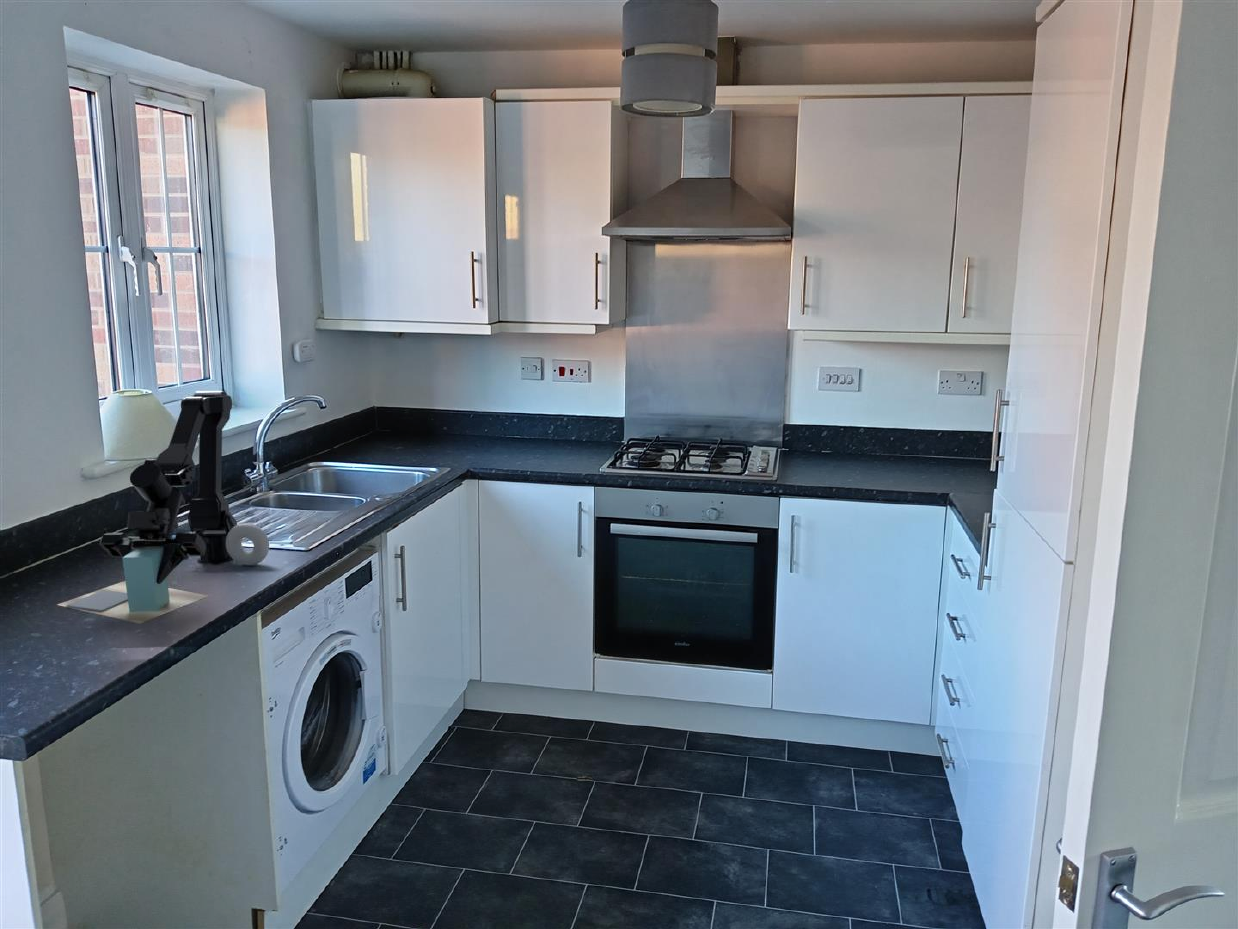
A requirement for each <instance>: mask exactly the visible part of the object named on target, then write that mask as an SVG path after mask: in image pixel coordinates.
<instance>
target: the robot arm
mask: <svg viewBox="0 0 1238 929" xmlns="http://www.w3.org/2000/svg"><path fill="white" fill-rule="evenodd" d="M232 409H233V400H232V397H231V396H230V395H229V394H228V393H227V391H225V390H196V391H195V393H194V394H193V395H189V396H185V397H184V398H182V399H181V402H180V413H179V416H178V419H177V422H176V425H175V427H174V430H173V433H172V436H171V437H170V438H171V439H170V442H169V444H168V446H167V448H166V449H164V450H163V451H162V452H160V453H159V454H158V455H157V457H156V459H155V458H154V459H145V460H144V463H143V464H141V465H138V466H137V467H136V468H134V469H133V471H132V472H131V473H130V474H129V482H130V483H131V485H132V486H133V487H134V489H135V490H137V492H138V493H139V495H140V496H141V497H142V498H143V499H144V500H145V501H147V502H148V503H149V504H148V507H147V509H146V510H143V511H128V514H127V515H128V516H127V524H126V529H128V530H129V529H132V530H133V534H134V535H135V536H138V537H139V538H134V539H133V538H130V537H128V536H127V535H126V534H125V533H124V532H106V533H104V534H103V535H102V536H101V538H100V541H99V544H98V545H99V546H100V547H101V548H102V549H103V551H105V553H107V554H108V555H109V556H110V557H112V558H123V557H124V556H126V555H127V554H129V553H130V552H132V551H134V550H135V549H163V558H162V561H161V564H160V568H159V571H158V575H157V581H156V582H157V583H158V584H161V583H162V581H163V580H164V579H165V578H166V577H167V578H168V576H169V575H170V574H171V573H172V572H173V570H174V569H176V568H177V567H178V565H180V564H181V563H182V562H183V561H185V560H188V559H189V557H199V558H197V560H196V561H197V562H199V563H204V564H208V565H209V564H210V565H214V566H215V565H216V566H217V565H220V564H224V563H225V562H228V561H232V560H233V559H232V558H231V556H230V555H229V553H228V552H227V548H226V537H227V535H228V532H229V531H230V530H231V529H232V528H233V527H234V526H236V525H238V521H237V519H236V518H235V517H234V516H233V514H232V513H231V511H230V504H229V502H228V500H227V499H226V497H225V496H224V494H223V493H222V474H223V473H222V471H223V470H222V468H223V467H222V464H223V463H222V462H223V459H222V456H223V454H222V453H223V444H222V443H223V429H224V428H225V426H226V425H227V423H228V422H229V420H230V419H231V410H232ZM198 439H199V440H198ZM197 442H198V491H197V492H198V493H197V494H195V497H193V498H191V499H190V500H189V501H188V502H189V504H188V505H189V511H188V512H189V513H188V515H187V516H188V517H187V522H188V526H189V528H190V531H178V532H177V533H176V534H175V536H174V538H173V534H174V531H175V530H177V529H178V528H179V523H178V522H177V519H178V515H179V511H180V508H181V505H185V504H186V500H185V498H184V495H183V493H182V492H181V491H180V490H179V489H178V488H179V487H188V486H191V484H192V482H193V481H194V480H195V478H196V474H197V473H196V463H195V461H194V460H193V455H194V452H195V449H196V445H197ZM177 487H178V488H177Z"/></svg>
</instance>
